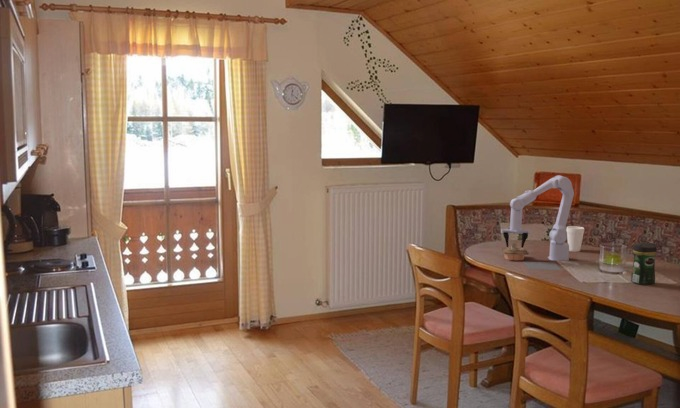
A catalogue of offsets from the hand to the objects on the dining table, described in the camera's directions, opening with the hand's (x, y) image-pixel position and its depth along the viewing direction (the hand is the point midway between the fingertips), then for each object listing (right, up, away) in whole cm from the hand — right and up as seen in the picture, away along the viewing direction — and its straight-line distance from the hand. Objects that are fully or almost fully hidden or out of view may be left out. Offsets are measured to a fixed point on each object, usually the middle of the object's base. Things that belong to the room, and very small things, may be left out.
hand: (514, 247), depth 331 cm
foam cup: (+40, -4, +23) cm, 46 cm away
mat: (+9, -9, -15) cm, 20 cm away
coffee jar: (+46, -14, -44) cm, 65 cm away
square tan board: (0, -3, 0) cm, 3 cm away
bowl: (0, -6, +1) cm, 6 cm away
